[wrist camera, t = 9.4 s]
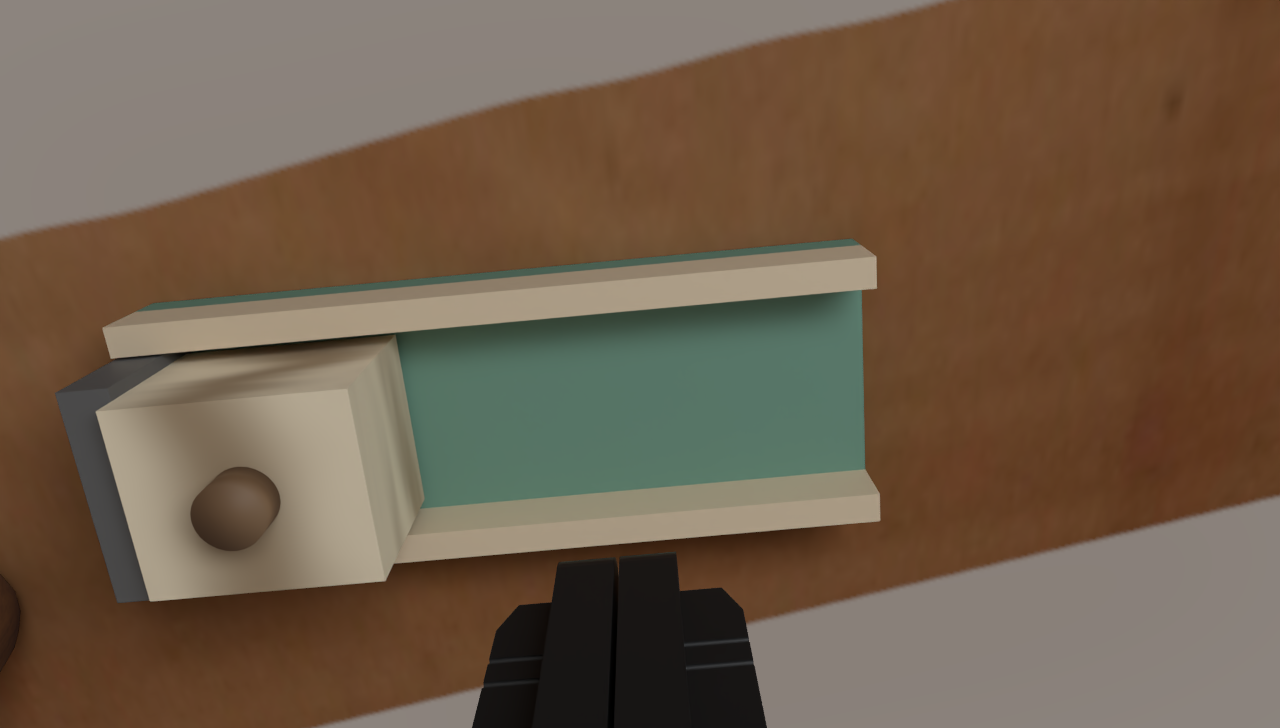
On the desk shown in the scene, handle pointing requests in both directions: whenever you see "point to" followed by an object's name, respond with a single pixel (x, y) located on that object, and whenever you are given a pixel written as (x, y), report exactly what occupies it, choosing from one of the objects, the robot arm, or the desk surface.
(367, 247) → the desk surface
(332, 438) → the cream knobbed cube
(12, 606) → the wooden figurine
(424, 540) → the rail
